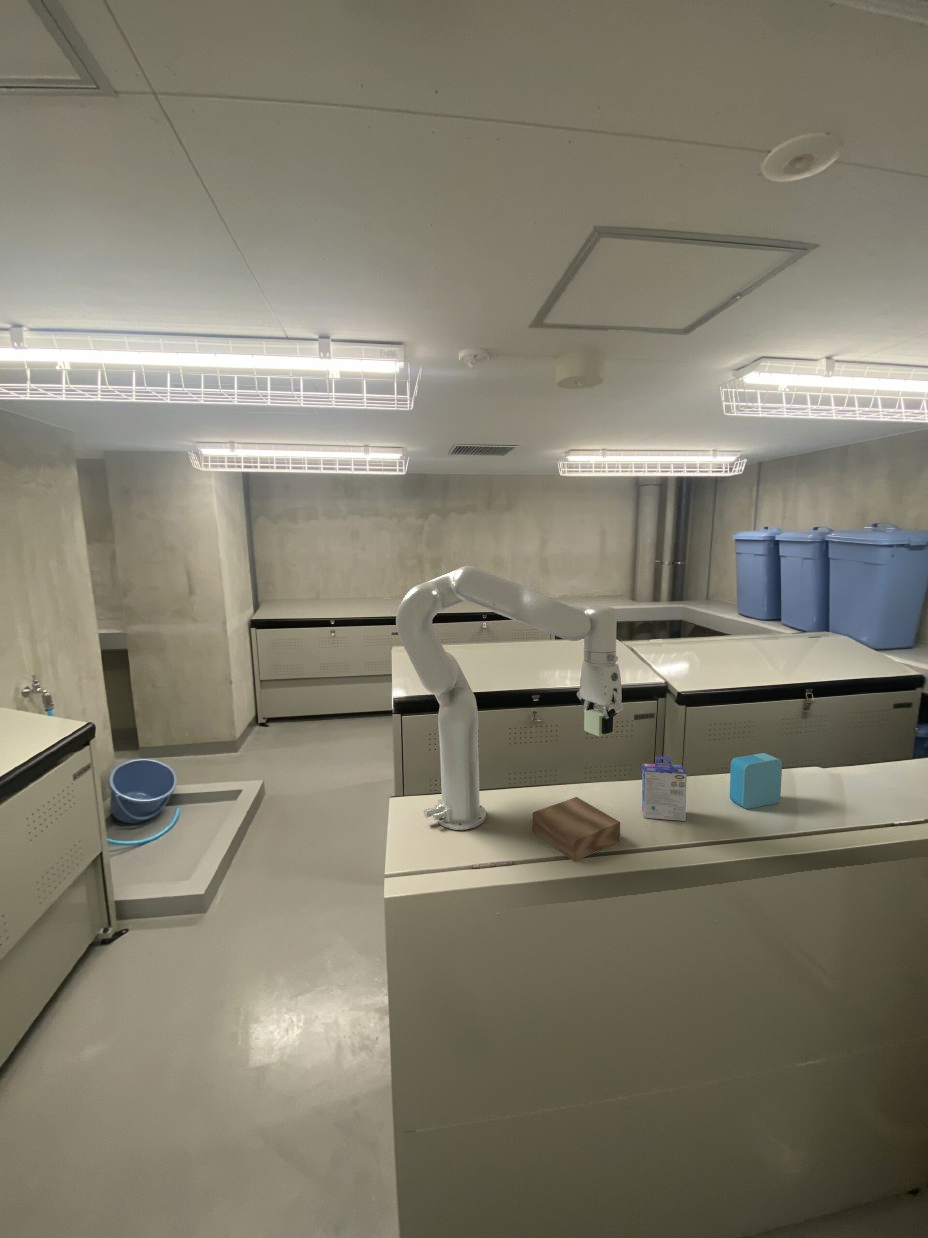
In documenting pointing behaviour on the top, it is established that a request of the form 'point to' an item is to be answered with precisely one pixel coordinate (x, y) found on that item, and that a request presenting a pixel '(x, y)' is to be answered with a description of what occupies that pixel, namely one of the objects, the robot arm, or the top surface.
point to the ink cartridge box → (664, 790)
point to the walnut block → (576, 828)
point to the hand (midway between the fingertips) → (598, 728)
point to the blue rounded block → (755, 780)
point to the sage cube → (594, 721)
